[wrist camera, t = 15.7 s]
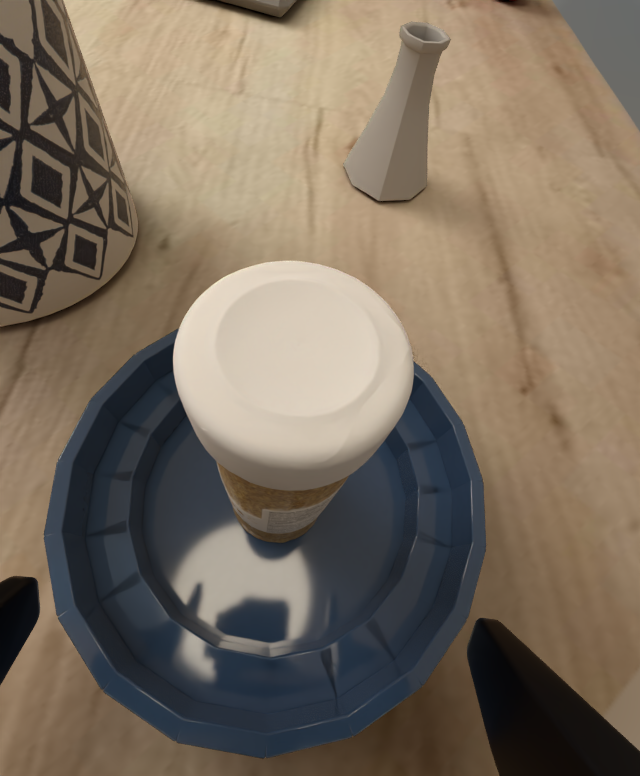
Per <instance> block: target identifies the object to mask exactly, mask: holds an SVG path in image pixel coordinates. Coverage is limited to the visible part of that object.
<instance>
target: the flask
mask: <svg viewBox="0 0 640 776" xmlns="http://www.w3.org/2000/svg"><path fill="white" fill-rule="evenodd" d="M400 38H401V40H402V41H401V47H400V51H399V55H398V59H397V63H396V66H395V68H394V71H393V73H392V76H391V78H390V81H389V83H388V86H387V88H386V91H385V93H384V95H383V97H382V98H381V100H380V102H379V104H378V105H377V107H376V109H375V111H374V113H373V114H372V116H371V118H370V120H369V121H368V123H367V125H366V127H365V128H364V130H363V132H362V133H361V135H360V137H359V138H358V140H357V142H356V143H355V145H354V146H353V148H352V150H351V151H350V153H349V155H348V156H347V158H346V160H345V162H344V163H343V165H344V167H345V169H346V172H347V174H348V176H349V178H350V181H351V183H352V185H354V186H355V187H357V188H359V189H360V190H362V191H364V192H365V193H367V194H368V195H370V196H372V197H373V198H375V199H376V200H378V201H390V200H410V199H411V198H412V197H414V196H415V195H416V194H417V193H419V192H420V191H421V190H422V189H424V188H425V187H426V186H427V143H428V119H429V103H430V97H431V91H432V85H433V80H434V74H435V71H436V68H437V65H438V62H439V58H440V56H441V53H442V51H443V50H445V49H446V48H447V47H448V45H449V43H450V40H451V39H450V38H449V36H448V35H447V34H446V33H445V32H444V30H442V29H440V28H438V27H436V26H433V25H431V24H429V23H423V22H409V23H407V24H404V25H402V26H401V28H400Z"/></svg>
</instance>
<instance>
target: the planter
mask: <svg viewBox="0 0 640 776" xmlns="http://www.w3.org/2000/svg"><path fill="white" fill-rule="evenodd" d="M137 233H138V217H137V213H136V209H135V205H134V203H133V200H132V197H131V194H130V191H129V188H128V185H127V182H126V179H125V176H124V173H123V170H122V167H121V165H120V162H119V159H118V156H117V153H116V150H115V147H114V144H113V142H112V139H111V136H110V133H109V130H108V127H107V124H106V121H105V119H104V116H103V113H102V110H101V107H100V104H99V101H98V98H97V96H96V93H95V90H94V87H93V84H92V81H91V79H90V76H89V73H88V70H87V67H86V64H85V61H84V59H83V56H82V53H81V50H80V47H79V44H78V42H77V39H76V36H75V33H74V30H73V27H72V24H71V22H70V19H69V16H68V13H67V10H66V7H65V5H64V2H63V0H0V327H1V326H7V325H12V324H17V323H22V322H27V321H31V320H34V319H37V318H40V317H44V316H47V315H50V314H53V313H55V312H57V311H60V310H62V309H64V308H67V307H69V306H72V305H73V304H75V303H77V302H79V301H80V300H82V299H84V298H86V297H88V296H89V295H91V294H92V293H94V292H95V291H96V290H98V289H99V288H100V287H102V286H103V285H104V284H106V283H107V282H108V281H109V280H110V279H111V278H112V277H113V276H114V275H115V274H116V273H117V272H118V271H119V270H120V269H121V267H122V266H123V264H124V263H125V262H126V260H127V259H128V258H129V255H130V253H131V251H132V249H133V247H134V245H135V242H136V237H137Z"/></svg>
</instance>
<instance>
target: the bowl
mask: <svg viewBox="0 0 640 776" xmlns="http://www.w3.org/2000/svg"><path fill="white" fill-rule="evenodd" d="M178 330H179V328H178V329H176V330H175V331H173V332H171V333H170V334H168V335H166V336H165V337H163V338H161V339H159V340H158V341H156V342H154V343H153V344H151V345H149V346H148V347H146V348H144V349H142V350H141V351H139V352H137V353H136V355H133V356H132V357H131V358H130V359H129V360H128V361H127V362H126V363H125V365H124V366H123V367H122V368H121V369H120V370H119V371H118V372H117V373H116V374H115V375H114V376H113V377H112V378H111V379H110V380H109V381H108V382H107V383H106V384H105V385H104V386H103V387H102V388H101V389H100V390H99V391H98V392H97V393H96V394H95V395H94V396H93V397H92V398H91V400H90V401H89V403H88V405H87V407H86V408H85V410H84V412H83V414H82V416H81V418H80V420H79V422H78V423H77V425H76V427H75V429H74V431H73V433H72V435H71V437H70V438H69V440H68V442H67V444H66V446H65V448H64V450H63V451H62V453H61V455H60V457H59V459H58V462H57V464H56V470H55V475H54V481H53V486H52V492H51V497H50V503H49V508H48V514H47V519H46V525H45V530H44V536H45V537H44V542H45V548H46V554H47V560H48V566H49V572H50V578H51V584H52V590H53V596H54V602H55V608H56V614H57V616H59V617H58V620H59V621H60V623H61V624H62V626H63V628H64V629H65V631H66V633H67V634H68V636H69V638H70V639H71V641H72V643H73V644H74V646H75V647H76V649H77V651H78V652H79V654H80V656H81V657H82V659H83V661H84V662H85V664H86V666H87V667H88V669H89V670H90V672H91V674H92V675H93V677H94V679H95V680H96V682H97V684H98V685H99V687H100V689H102V690H103V689H104V690H103V692H104V693H105V694H107V695H108V696H110V697H111V698H113V699H114V700H115V701H117V702H118V703H120V704H121V705H123V706H124V707H125V708H127V709H128V710H130V711H131V712H133V713H134V714H136V715H137V716H138V717H140V718H141V719H143V720H144V721H146V722H147V723H148V724H150V725H151V726H153V727H154V728H156V729H157V730H158V731H160V732H161V733H163V734H164V735H166V736H167V737H168V738H170V739H171V740H173V741H176V742H177V743H180V744H186V745H191V746H197V747H202V748H207V749H213V750H218V751H224V752H229V753H235V754H240V755H246V756H251V757H257V758H262V759H264V758H265V757H266V758H271V757H275V756H279V755H283V754H287V753H291V752H296V751H300V750H304V749H308V748H312V747H316V746H320V745H324V744H329V743H333V742H337V741H341V740H345V739H349V738H351V737H352V736H356V735H357V734H358V733H360V732H361V731H363V730H364V729H365V728H367V727H368V726H370V725H371V724H372V723H374V722H375V721H376V720H378V719H379V718H381V717H382V716H383V715H385V714H386V713H387V712H389V711H390V710H392V709H393V708H394V707H396V706H397V705H398V704H400V703H401V702H403V701H404V700H405V699H407V698H408V697H409V696H411V695H412V694H414V693H415V692H416V691H418V690H419V689H420V688H421V687H422V686H423V685H424V684H425V683H426V681H427V680H428V678H429V677H430V675H431V674H432V672H433V671H434V669H435V668H436V666H437V665H438V663H439V662H440V660H441V659H442V657H443V656H444V654H445V653H446V651H447V650H448V648H449V647H450V645H451V644H452V642H453V641H454V639H455V638H456V636H457V634H458V633H459V631H460V630H461V628H462V627H463V625H464V624H465V622H466V621H467V620H466V619H467V618H468V616H469V612H470V608H471V604H472V601H473V597H474V593H475V589H476V586H477V582H478V578H479V574H480V570H481V567H482V563H483V559H484V555H485V552H486V531H485V508H484V485H483V482H482V481H483V479H482V476H481V473H480V470H479V467H478V464H477V461H476V458H475V456H474V453H473V450H472V447H471V444H470V441H469V438H468V435H467V432H466V429H465V426H464V424H463V422H462V420H461V419H460V418H459V416H458V415H457V413H456V412H455V410H454V409H453V407H452V406H451V404H450V403H449V401H448V400H447V399H446V397H445V396H444V394H443V393H442V391H441V390H440V388H439V387H438V385H437V384H436V382H435V381H434V379H433V378H432V377H431V376H430V375H429V374H428V373H427V372H426V371H424V370H423V369H422V368H421V367H420V366H419V365H418V364H416V363H415V362H414V361H413V365H414V378H413V386H412V391H411V394H410V397H409V400H408V403H407V405H406V408H405V410H404V412H403V414H402V416H401V418H400V419H399V421H398V422H397V424H396V425H395V427H394V428H393V430H392V431H391V432H390V434H389V435H388V436H387V438H386V439H385V440H384V442H383V443H382V444H381V446H380V447H379V448H378V449H377V450H376V452H375V453H374V454H373V455H372V456H371V457H370V458H369V459H368V460H367V461H366V463H364V464H363V465H362V466H361V467H360V468H359V469H357V470H356V471H355V472H354V473H352V474H350V475H349V477H348V478H347V480H346V481H345V483H344V484H343V486H342V487H341V488H340V489H339V491H338V492H337V493H336V494H335V496H334V497H333V498H332V500H331V501H330V502H329V504H328V505H327V506H326V507H325V509H324V510H323V511H322V512H321V514H320V515H319V516H318V517H317V520H316V522H315V523H314V525H313V526H312V527H311V528H310V529H309V530H308V531H307V532H306V533H305V534H303V535H301V536H300V537H298V538H296V539H293V540H290V541H287V542H284V543H278V542H267V541H263V540H261V539H258V538H256V537H254V536H253V535H251V534H250V533H248V532H247V531H246V530H245V529H244V528H243V527H242V526H241V524H240V523H239V521H238V519H237V517H236V515H235V513H234V510H233V506H232V503H231V501H230V499H229V496H228V494H227V491H226V489H225V486H224V484H223V482H222V480H221V477H220V473H219V470H218V466H217V461H216V460H215V459H214V458H213V457H212V456H211V455H210V454H209V453H208V452H207V450H206V449H205V448H204V446H203V445H202V443H201V442H200V440H199V438H198V436H197V435H196V433H195V431H194V429H193V427H192V424H191V422H190V420H189V418H188V416H187V414H186V412H185V409H184V407H183V404H182V402H181V399H180V396H179V394H178V390H177V387H176V383H175V377H174V370H173V352H174V345H175V340H176V337H177V334H178Z"/></svg>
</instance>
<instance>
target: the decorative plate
mask: <svg viewBox="0 0 640 776" xmlns="http://www.w3.org/2000/svg"><path fill="white" fill-rule="evenodd" d="M219 1H223V2H226V3H230V4H234V5H237V6H241V7H244V8H248V9H251V10H255V11H259V12H262V13H266V14H269V15H273V16H276V17H280V18H281V17H282V16H283V15H284V14H285V13H286V12H287V11H288V10H289V9H290V7H291V6H292V5H293V4H294V3H295V1H296V0H219Z"/></svg>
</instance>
